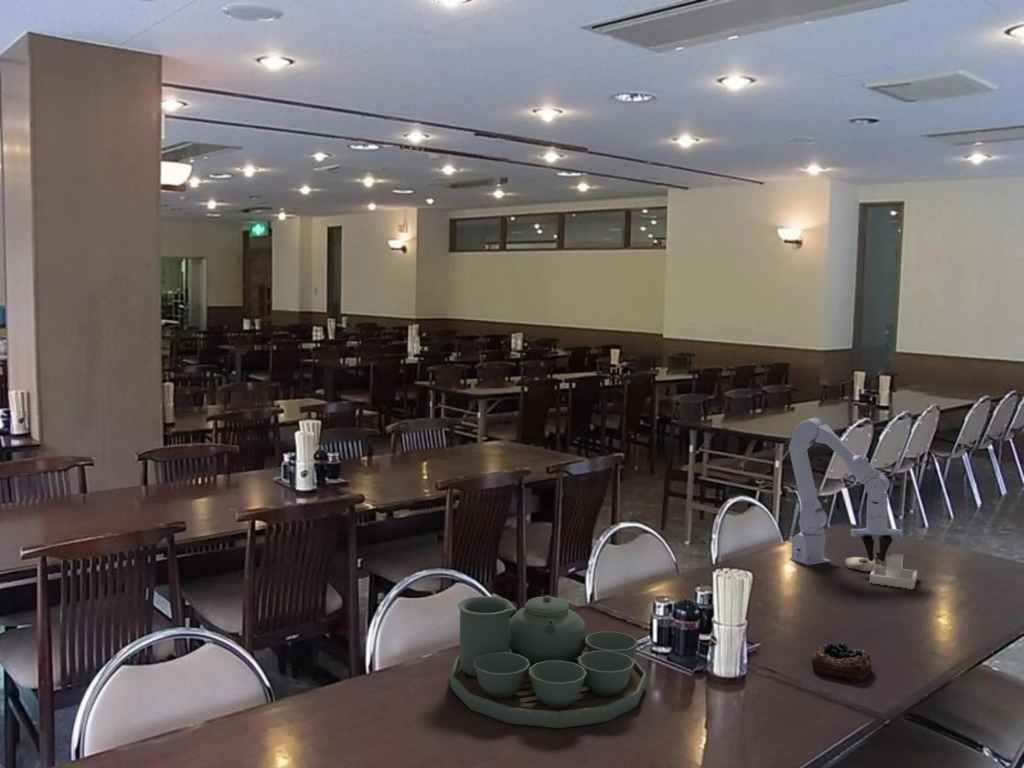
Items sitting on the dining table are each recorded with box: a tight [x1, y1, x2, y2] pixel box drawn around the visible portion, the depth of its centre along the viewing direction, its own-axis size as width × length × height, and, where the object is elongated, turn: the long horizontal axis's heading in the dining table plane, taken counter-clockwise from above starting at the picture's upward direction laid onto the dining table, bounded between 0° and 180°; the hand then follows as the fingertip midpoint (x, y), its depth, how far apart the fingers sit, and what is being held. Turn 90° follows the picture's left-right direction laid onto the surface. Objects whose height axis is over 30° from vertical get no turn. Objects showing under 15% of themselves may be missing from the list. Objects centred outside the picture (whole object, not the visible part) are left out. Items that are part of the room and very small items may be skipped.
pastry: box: [811, 642, 872, 684], centre depth 198 cm, size 11×12×6 cm
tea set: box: [449, 595, 648, 729], centre depth 188 cm, size 40×40×16 cm
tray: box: [869, 565, 918, 590], centre depth 264 cm, size 12×12×2 cm
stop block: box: [885, 552, 904, 578], centre depth 264 cm, size 4×4×7 cm
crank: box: [844, 549, 882, 572], centre depth 278 cm, size 10×10×5 cm
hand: (876, 560), depth 274 cm, fingers open, 3 cm apart
